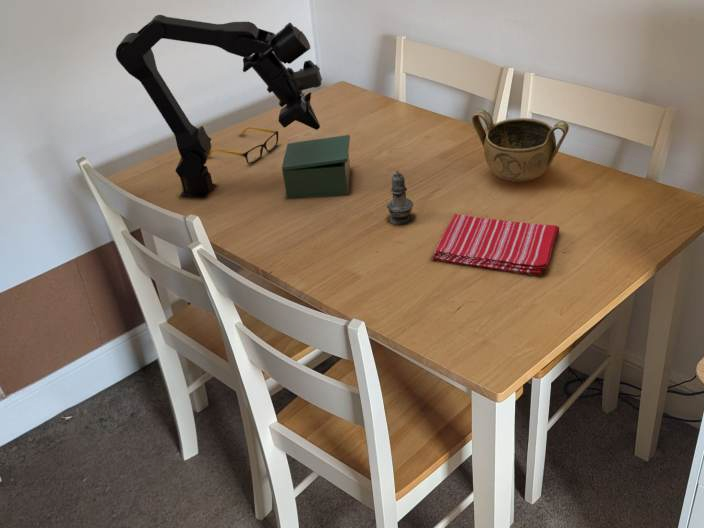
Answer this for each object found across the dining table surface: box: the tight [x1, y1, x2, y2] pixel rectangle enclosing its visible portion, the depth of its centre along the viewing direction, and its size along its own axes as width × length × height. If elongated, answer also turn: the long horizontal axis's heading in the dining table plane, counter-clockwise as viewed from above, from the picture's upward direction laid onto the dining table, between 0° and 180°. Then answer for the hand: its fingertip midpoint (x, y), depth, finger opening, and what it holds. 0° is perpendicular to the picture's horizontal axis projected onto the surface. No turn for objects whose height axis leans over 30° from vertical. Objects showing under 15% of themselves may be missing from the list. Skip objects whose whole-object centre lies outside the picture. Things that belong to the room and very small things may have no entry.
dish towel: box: [431, 213, 560, 277], centre depth 166 cm, size 17×24×3 cm
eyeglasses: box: [208, 126, 279, 165], centre depth 211 cm, size 14×14×4 cm
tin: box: [281, 152, 351, 199], centre depth 192 cm, size 15×13×7 cm
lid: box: [281, 134, 351, 171], centre depth 190 cm, size 15×13×1 cm
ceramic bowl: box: [471, 108, 570, 183], centre depth 186 cm, size 22×17×15 cm
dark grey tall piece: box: [386, 170, 414, 226], centre depth 175 cm, size 6×6×12 cm
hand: (318, 128), depth 186 cm, fingers closed
